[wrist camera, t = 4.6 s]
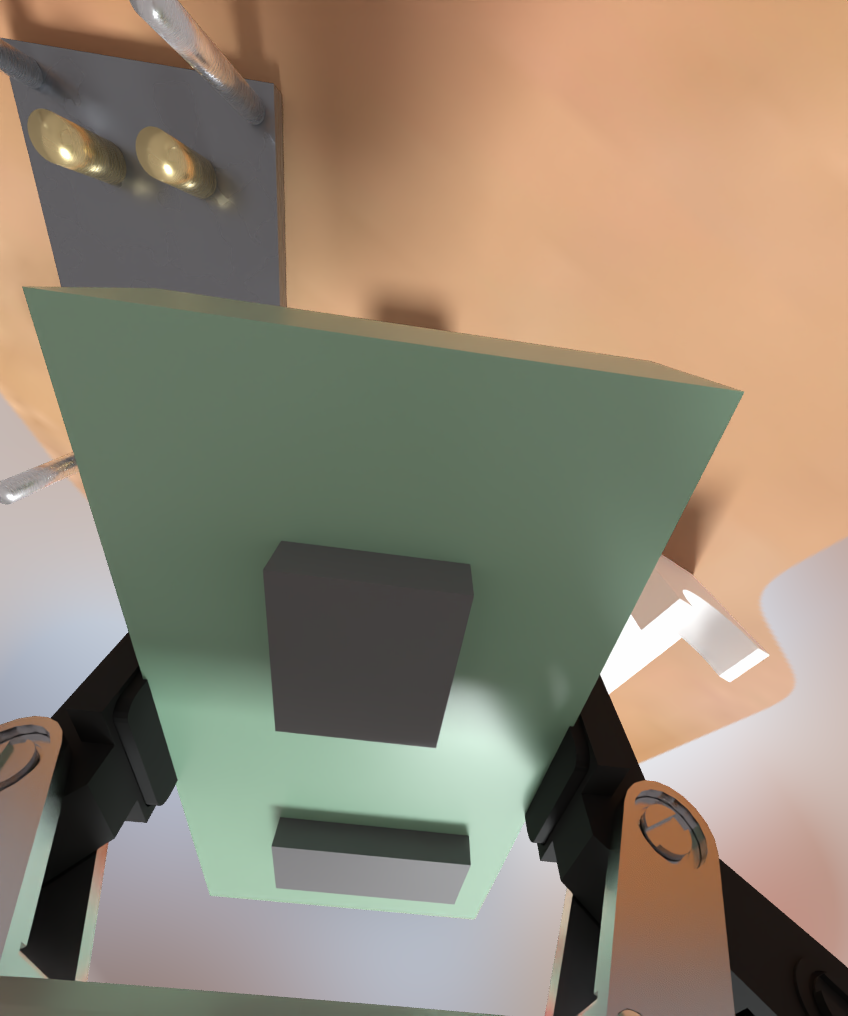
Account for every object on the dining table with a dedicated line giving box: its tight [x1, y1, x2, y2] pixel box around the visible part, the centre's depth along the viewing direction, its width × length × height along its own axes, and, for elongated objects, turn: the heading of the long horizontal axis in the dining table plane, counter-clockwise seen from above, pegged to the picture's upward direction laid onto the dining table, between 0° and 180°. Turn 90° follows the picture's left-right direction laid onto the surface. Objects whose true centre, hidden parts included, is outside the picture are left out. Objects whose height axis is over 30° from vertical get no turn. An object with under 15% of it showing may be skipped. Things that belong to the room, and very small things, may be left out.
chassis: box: [0, 0, 287, 504], centre depth 18 cm, size 18×11×8 cm, turn 172°
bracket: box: [600, 554, 770, 694], centre depth 27 cm, size 13×7×8 cm, turn 147°
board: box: [22, 287, 744, 919], centre depth 8 cm, size 14×7×3 cm, turn 172°
